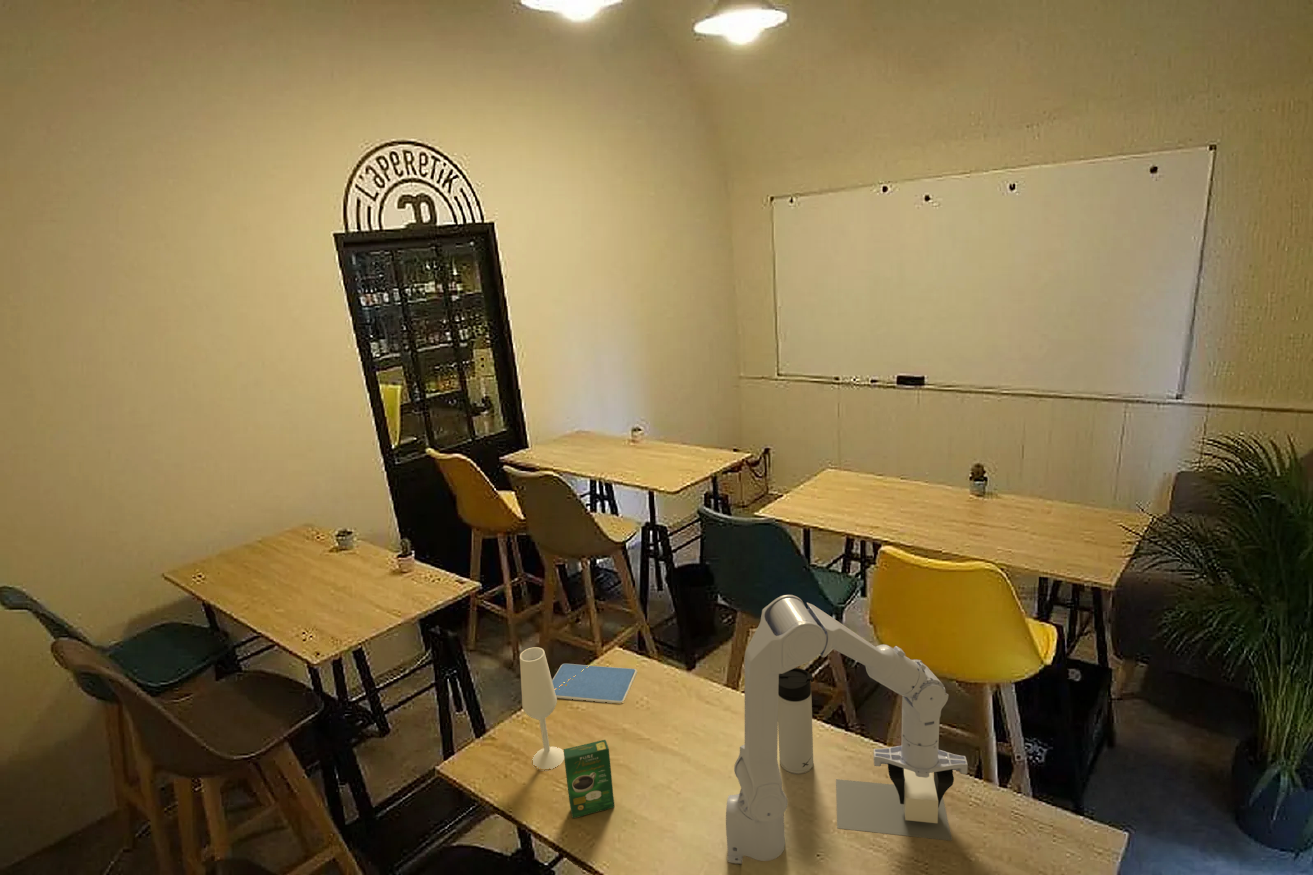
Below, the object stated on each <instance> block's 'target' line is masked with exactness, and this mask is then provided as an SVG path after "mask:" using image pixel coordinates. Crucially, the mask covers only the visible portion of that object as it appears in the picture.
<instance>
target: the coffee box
mask: <svg viewBox="0 0 1313 875" xmlns="http://www.w3.org/2000/svg"><path fill="white" fill-rule="evenodd" d="M608 745H609V744H608V743H607V740H606V739H602V740H598V741H594V742H593V741H592V742H589V743H585V744H579V745H577V746H571V747H569V748H563V751H564V760H563V761H564V768H565V776H566V777H565V778H566V786H567V795H568V802H569V807H570V813H571V818H572V819H575V818H580V817H581V816H582V817H584V815H585V816H587V815H591V814H594V813H598V812H602V811H607V810H610V809H613V808H615V799H614V798H615V797H614V790H613V779H612V778H613V777H612V767H611V758H610V748H609V746H608Z"/></svg>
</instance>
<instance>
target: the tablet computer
mask: <svg viewBox="0 0 1313 875" xmlns="http://www.w3.org/2000/svg"><path fill="white" fill-rule="evenodd" d="M588 666H589V667H588ZM586 667H588V668H586ZM583 669H584V670H583ZM582 670H583V671H582ZM581 671H582V672H581ZM637 674H638V670H637V668H628V667H615V666H614V667H613V666H600V665H588V664H587V665H586V664H577V663H576V664H574V663H562V664H561V665H560V667H559V668H558V670H557V672H555V674H554V676H553V678H552V682H553V686H554V689H555V688H557V689H556V690H555V694H556V698H557V699H561V700H562V699H564V700H572V699H573V700H575V701H583V700H586V702H593V701H595V702H596V703H603V704H612V703H622V702H623V701H624V700H625V698H626V699H627V697H628V695H629V693H628V691H629V689H630V690H631V688H632V686H633V684H632V683H634V681H635V679H636V677H637ZM575 675H576V676H575ZM573 676H575V677H573ZM570 678H571V679H570ZM568 679H570V680H569V681H568ZM572 679H573V680H572ZM567 681H568V682H567ZM563 682H565V683H563ZM561 684H563V686H560V685H561ZM566 684H567V686H565V685H566ZM631 685H632V686H631ZM559 686H560V687H559ZM630 687H631V688H630ZM559 689H560V690H559ZM629 692H630V691H629ZM627 694H628V695H627ZM626 696H627V697H626ZM625 701H626V700H625ZM595 702H594V703H595ZM605 702H607V703H605Z"/></svg>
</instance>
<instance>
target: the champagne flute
mask: <svg viewBox="0 0 1313 875" xmlns="http://www.w3.org/2000/svg"><path fill="white" fill-rule="evenodd" d="M546 656H547V655H546V653H545V650H544V648H542V647H537V646H536V647H529V648H526V649H525V650H523V651H522V652H520V654H519V667H520V686H521V687H520V688H521V702H522V704H521V705H522V710H523V711H524V713H525V714H526V715H527V716H529V718H532V719H535V720H538V721H539V727H540V732H541V739H542V744H543V745H542V748H541V749H540V750H539V749H538V750H537V751H536V752H537V753H536V752H535V753H536V754H535V753H534V754H535V755H534V754H533V756H534V757H533V756H532V758H533V759H531V761H532V760H533V765H535V766H537V768H538V767H539V769H540V768H541V769H549V768H550V769H551V770H553V768H554V769H556V768H558V767H559V766H560V765H561V764H562V763H563V762H564V761H565V760H564V752H563V751H564V749H562V748H560V747H558V748H557V746H550V741H549V735H548V734H549V733H548V729H547V723H546V722H547V721H546V718H548V717H549V716H550V715H551V714H552V713H553V711H554V710H555V708H556V706H557V705H558V704H557V703H558V698H556V694H555V690H554V686H553V682H552V680H553V678H552V676H551V672H550V668H549V664H548V660H547V657H546ZM533 765H532V766H533ZM558 765H559V766H558ZM557 766H558V767H557ZM555 767H556V768H555Z"/></svg>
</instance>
